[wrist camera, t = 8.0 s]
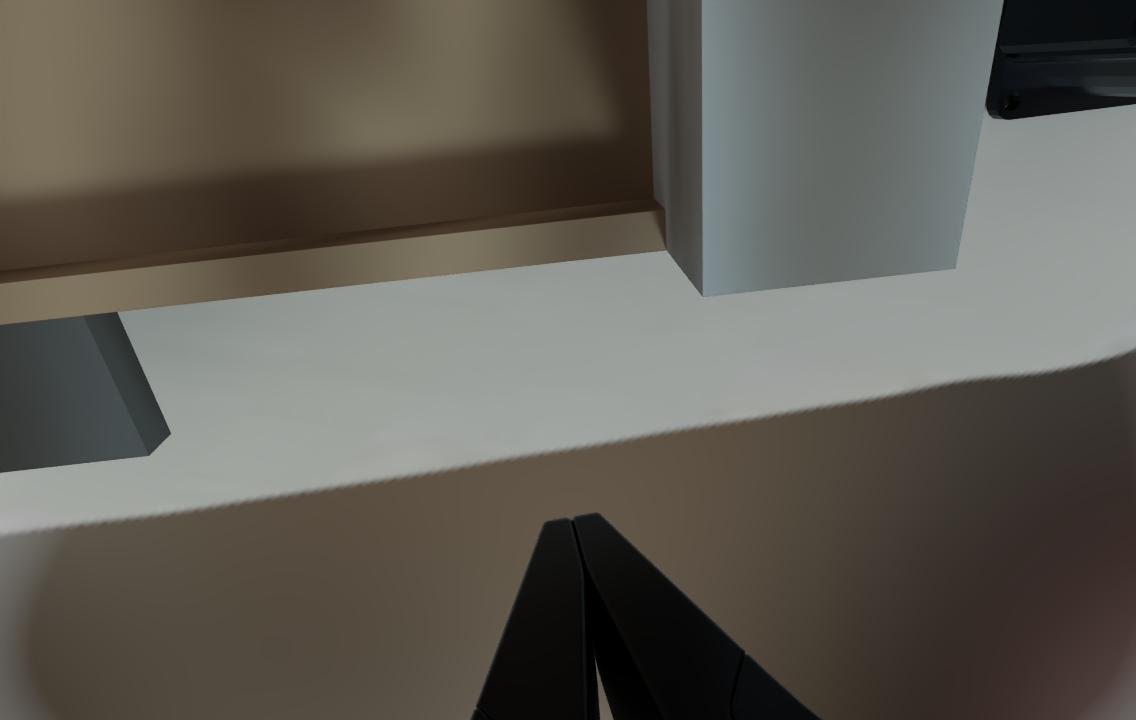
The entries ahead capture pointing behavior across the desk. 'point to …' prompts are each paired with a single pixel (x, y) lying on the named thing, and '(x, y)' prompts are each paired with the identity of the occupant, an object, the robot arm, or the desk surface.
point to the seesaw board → (447, 160)
